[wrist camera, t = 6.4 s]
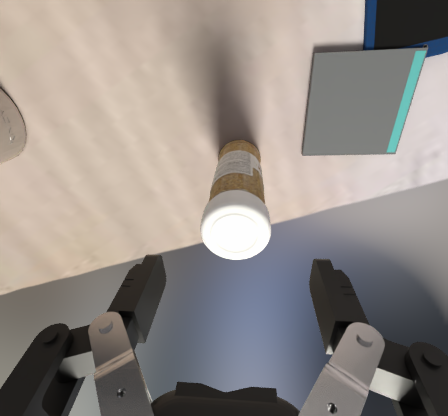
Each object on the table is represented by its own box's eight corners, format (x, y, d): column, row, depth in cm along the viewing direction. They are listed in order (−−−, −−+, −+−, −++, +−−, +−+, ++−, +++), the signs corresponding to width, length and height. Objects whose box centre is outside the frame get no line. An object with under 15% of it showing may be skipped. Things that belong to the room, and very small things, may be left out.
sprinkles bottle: (259, 179, 29) (268, 264, 17) (218, 178, 29) (200, 261, 18) (262, 138, 26) (275, 205, 15) (217, 137, 27) (197, 203, 15)
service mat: (301, 153, 27) (302, 155, 26) (313, 52, 22) (315, 53, 22) (392, 152, 26) (395, 154, 26) (423, 47, 22) (428, 47, 21)
